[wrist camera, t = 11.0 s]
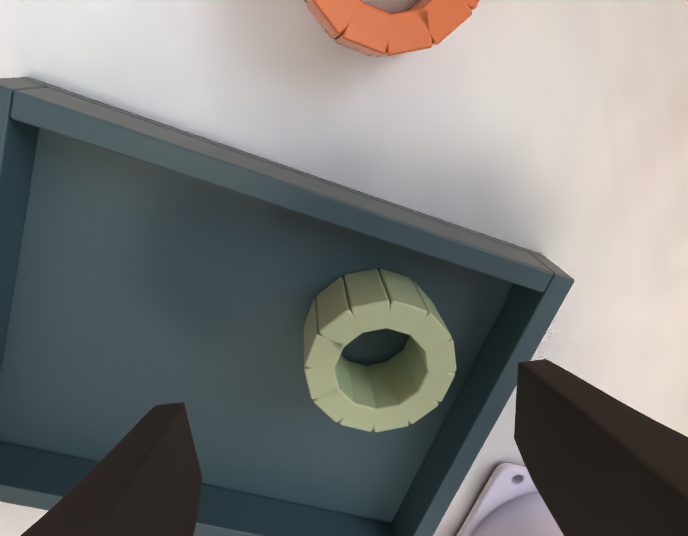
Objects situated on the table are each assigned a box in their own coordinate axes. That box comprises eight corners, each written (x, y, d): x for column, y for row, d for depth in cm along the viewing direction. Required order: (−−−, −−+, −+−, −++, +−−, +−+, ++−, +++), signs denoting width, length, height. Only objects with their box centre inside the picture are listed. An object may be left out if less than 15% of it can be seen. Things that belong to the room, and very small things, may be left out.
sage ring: (456, 291, 19) (480, 327, 17) (405, 398, 21) (420, 445, 18) (331, 251, 18) (336, 283, 16) (288, 367, 20) (286, 412, 17)
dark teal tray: (542, 254, 20) (575, 280, 17) (398, 529, 24) (409, 578, 22) (26, 76, 16) (-21, 78, 14) (-27, 441, 21) (-68, 489, 18)
